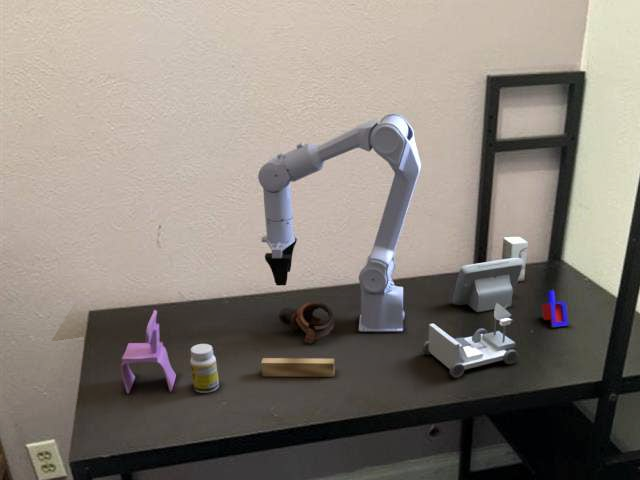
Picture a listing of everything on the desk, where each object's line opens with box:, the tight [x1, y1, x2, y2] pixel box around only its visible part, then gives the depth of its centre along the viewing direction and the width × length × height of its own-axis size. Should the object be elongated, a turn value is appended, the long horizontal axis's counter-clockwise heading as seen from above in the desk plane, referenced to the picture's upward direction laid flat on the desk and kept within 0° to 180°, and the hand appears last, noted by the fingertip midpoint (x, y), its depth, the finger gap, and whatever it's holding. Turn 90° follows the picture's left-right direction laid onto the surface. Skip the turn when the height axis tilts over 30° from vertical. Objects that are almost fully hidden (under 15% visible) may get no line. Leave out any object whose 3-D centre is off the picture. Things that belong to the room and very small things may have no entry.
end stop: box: [260, 357, 336, 378], centre depth 152 cm, size 14×2×3 cm, turn 88°
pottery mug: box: [278, 301, 336, 345], centre depth 166 cm, size 12×10×8 cm
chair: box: [120, 309, 177, 394], centre depth 146 cm, size 8×9×15 cm
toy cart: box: [421, 303, 519, 379], centre depth 156 cm, size 18×10×12 cm
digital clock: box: [451, 258, 523, 313], centre depth 178 cm, size 16×9×11 cm, turn 99°
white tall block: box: [501, 235, 529, 283], centre depth 192 cm, size 5×4×10 cm
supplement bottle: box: [189, 343, 220, 394], centre depth 146 cm, size 5×5×8 cm
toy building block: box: [541, 289, 569, 328], centre depth 171 cm, size 4×4×8 cm
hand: (283, 278), depth 170 cm, fingers open, 7 cm apart
